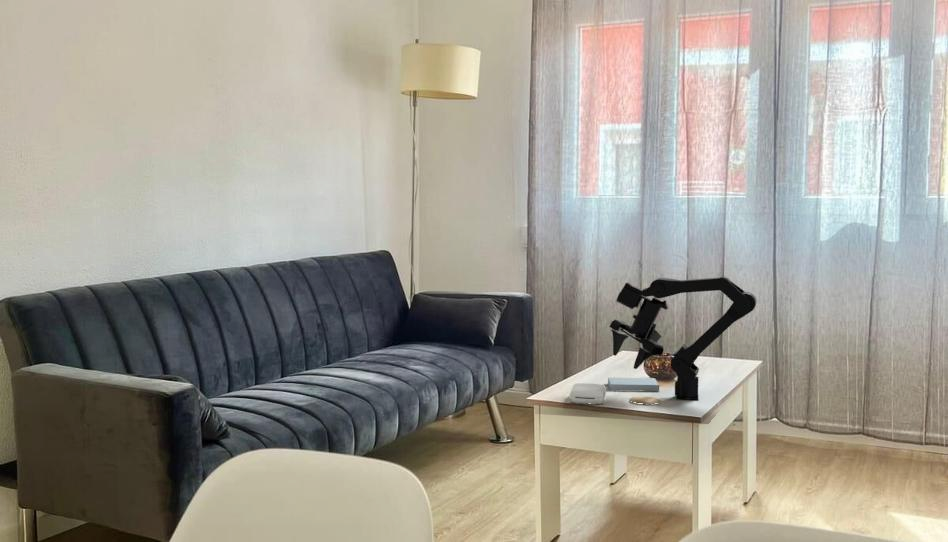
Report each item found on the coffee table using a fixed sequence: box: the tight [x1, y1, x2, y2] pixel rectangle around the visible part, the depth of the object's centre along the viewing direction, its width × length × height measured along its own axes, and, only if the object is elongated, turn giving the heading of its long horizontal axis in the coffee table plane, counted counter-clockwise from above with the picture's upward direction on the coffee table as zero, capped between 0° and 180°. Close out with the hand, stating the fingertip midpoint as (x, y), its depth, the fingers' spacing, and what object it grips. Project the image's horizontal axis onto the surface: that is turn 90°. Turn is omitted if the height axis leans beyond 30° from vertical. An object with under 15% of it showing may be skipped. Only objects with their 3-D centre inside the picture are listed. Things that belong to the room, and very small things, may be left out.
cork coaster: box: [629, 396, 662, 404], centre depth 273 cm, size 9×9×1 cm
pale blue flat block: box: [607, 377, 660, 392], centre depth 293 cm, size 15×11×2 cm
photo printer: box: [569, 383, 607, 405], centre depth 273 cm, size 10×4×12 cm
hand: (624, 361), depth 283 cm, fingers open, 9 cm apart
